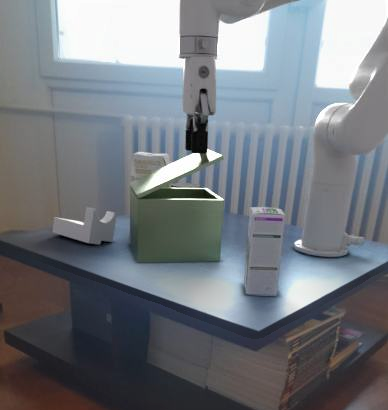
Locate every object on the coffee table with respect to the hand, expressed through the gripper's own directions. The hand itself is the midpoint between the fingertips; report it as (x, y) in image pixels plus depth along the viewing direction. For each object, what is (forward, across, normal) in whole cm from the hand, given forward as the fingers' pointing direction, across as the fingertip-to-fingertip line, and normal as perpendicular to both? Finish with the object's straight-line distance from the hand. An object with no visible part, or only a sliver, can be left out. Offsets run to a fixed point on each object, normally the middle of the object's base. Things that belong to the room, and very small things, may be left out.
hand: (196, 150), depth 103 cm
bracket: (+21, +13, +24) cm, 34 cm away
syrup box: (+22, -26, -7) cm, 34 cm away
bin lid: (+4, 0, +5) cm, 6 cm away
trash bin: (+21, 0, +5) cm, 22 cm away
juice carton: (+21, +17, +8) cm, 28 cm away
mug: (+22, +29, -3) cm, 36 cm away
